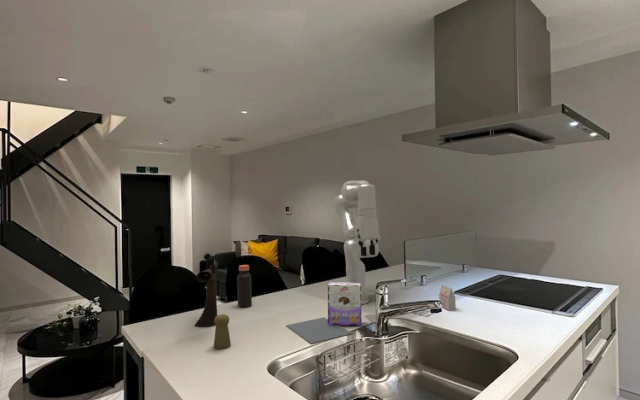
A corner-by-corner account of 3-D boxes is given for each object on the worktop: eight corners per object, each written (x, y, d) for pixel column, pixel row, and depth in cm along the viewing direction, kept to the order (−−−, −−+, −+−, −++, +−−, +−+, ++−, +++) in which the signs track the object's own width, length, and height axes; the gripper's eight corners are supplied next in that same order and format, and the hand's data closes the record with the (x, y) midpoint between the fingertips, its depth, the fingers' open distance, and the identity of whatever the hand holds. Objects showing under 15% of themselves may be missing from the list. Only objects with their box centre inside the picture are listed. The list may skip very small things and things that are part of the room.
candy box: (361, 321, 148) (361, 282, 148) (361, 326, 142) (361, 285, 142) (328, 320, 149) (328, 281, 150) (327, 324, 143) (327, 284, 144)
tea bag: (446, 306, 166) (445, 284, 166) (455, 310, 160) (455, 288, 160) (439, 306, 165) (439, 285, 165) (448, 311, 159) (448, 288, 159)
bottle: (239, 308, 170) (238, 267, 170) (236, 305, 176) (235, 265, 176) (253, 306, 173) (252, 266, 174) (249, 303, 179) (248, 264, 180)
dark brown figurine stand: (214, 336, 135) (212, 258, 135) (187, 339, 133) (186, 259, 133) (221, 312, 166) (219, 248, 166) (200, 313, 164) (198, 249, 164)
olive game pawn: (215, 343, 128) (214, 313, 129) (232, 342, 129) (231, 312, 129) (211, 350, 122) (211, 318, 123) (229, 349, 123) (228, 317, 123)
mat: (323, 318, 153) (323, 317, 153) (352, 333, 134) (352, 332, 134) (286, 326, 144) (286, 325, 144) (311, 344, 125) (311, 343, 125)
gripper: (376, 212, 160) (377, 252, 159) (346, 213, 151) (347, 256, 151) (387, 212, 153) (388, 254, 153) (356, 213, 145) (357, 258, 145)
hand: (368, 254), depth 152 cm, fingers open, 3 cm apart
